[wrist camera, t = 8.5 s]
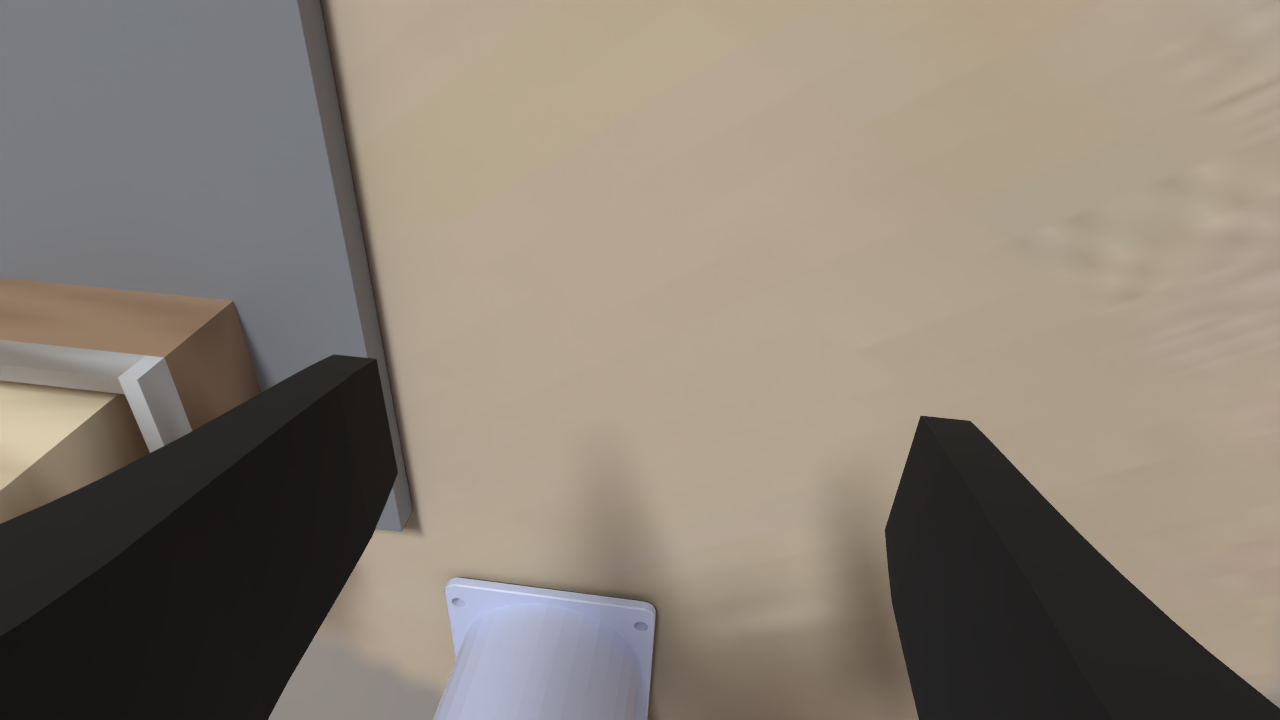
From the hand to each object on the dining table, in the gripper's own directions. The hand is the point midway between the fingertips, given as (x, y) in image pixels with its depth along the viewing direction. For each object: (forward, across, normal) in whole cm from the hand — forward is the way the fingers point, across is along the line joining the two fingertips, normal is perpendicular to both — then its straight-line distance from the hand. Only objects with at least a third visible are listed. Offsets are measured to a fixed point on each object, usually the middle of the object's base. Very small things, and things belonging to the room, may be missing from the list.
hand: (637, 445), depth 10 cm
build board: (+10, +15, +4) cm, 19 cm away
